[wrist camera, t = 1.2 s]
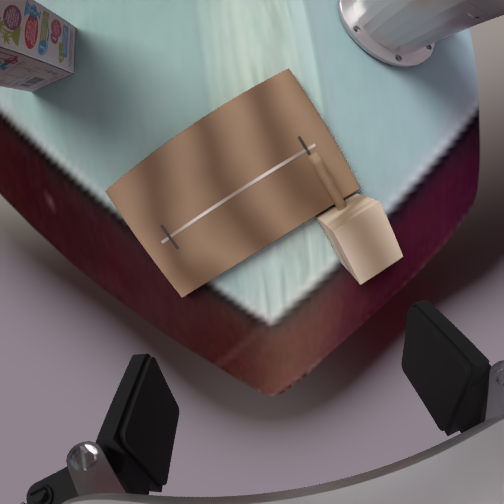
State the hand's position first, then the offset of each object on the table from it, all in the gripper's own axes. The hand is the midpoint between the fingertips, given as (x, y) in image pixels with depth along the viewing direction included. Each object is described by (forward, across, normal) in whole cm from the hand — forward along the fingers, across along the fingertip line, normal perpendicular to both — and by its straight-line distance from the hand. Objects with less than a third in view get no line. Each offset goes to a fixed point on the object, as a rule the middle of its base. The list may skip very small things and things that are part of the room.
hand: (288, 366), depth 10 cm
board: (+22, +2, -4) cm, 22 cm away
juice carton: (+22, +20, -25) cm, 39 cm away
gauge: (+22, -8, 0) cm, 23 cm away
